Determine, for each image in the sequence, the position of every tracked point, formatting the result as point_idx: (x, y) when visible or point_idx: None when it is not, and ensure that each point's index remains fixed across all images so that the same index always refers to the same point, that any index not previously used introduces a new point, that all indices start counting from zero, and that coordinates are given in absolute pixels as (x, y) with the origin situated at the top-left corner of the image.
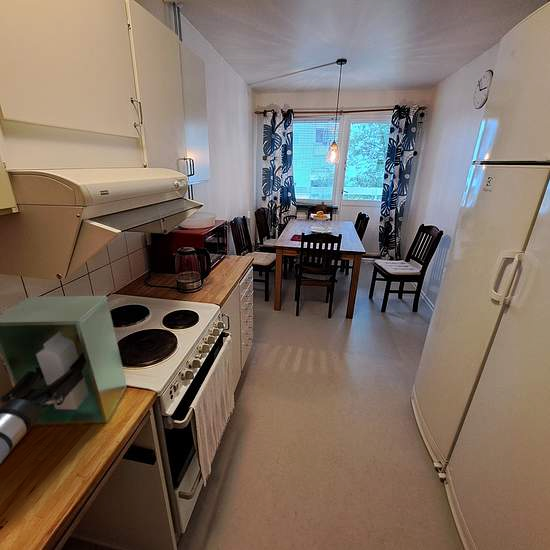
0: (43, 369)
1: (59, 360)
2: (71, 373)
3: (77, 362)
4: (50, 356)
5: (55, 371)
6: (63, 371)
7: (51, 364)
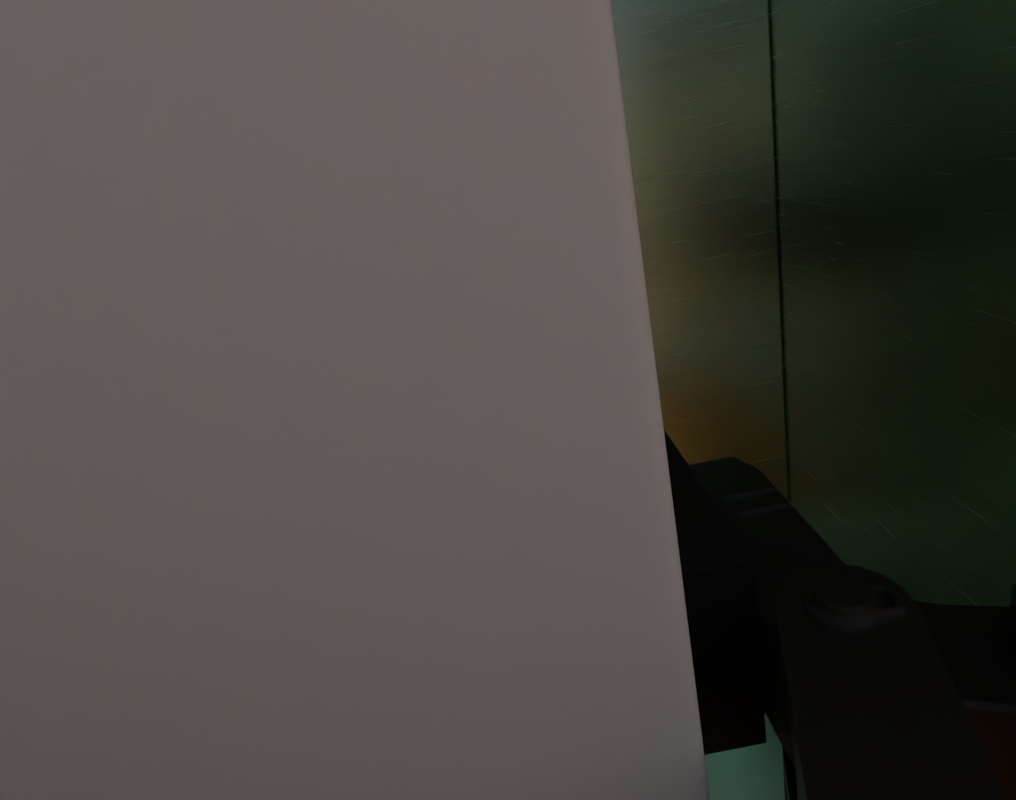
0: (35, 757)
1: (602, 256)
2: (958, 740)
3: (685, 472)
4: (173, 88)
5: (419, 759)
6: (688, 717)
7: (266, 531)
